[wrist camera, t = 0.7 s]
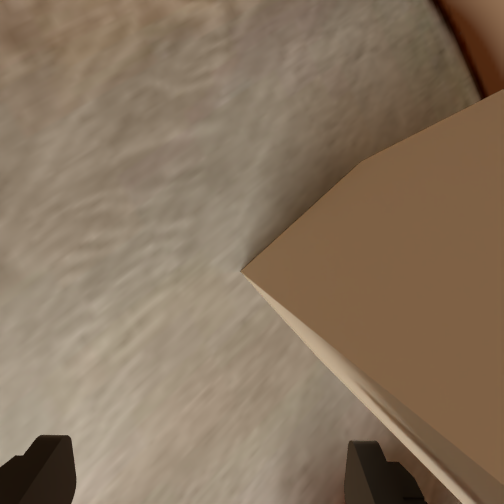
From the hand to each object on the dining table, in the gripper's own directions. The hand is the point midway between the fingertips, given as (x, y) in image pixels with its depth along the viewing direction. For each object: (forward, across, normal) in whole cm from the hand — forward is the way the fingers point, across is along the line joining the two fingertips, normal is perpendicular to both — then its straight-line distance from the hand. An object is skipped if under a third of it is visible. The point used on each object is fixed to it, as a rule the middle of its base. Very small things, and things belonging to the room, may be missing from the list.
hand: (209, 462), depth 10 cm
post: (+21, -9, 0) cm, 23 cm away
